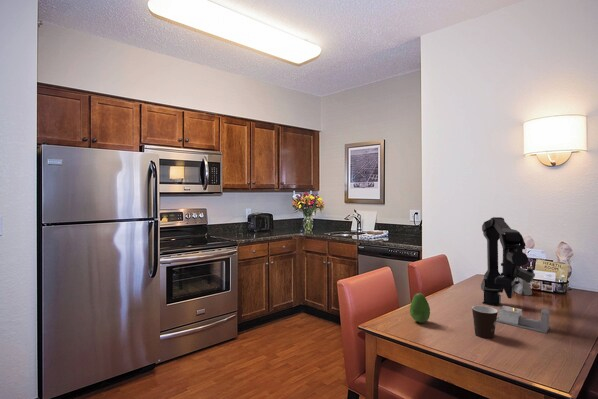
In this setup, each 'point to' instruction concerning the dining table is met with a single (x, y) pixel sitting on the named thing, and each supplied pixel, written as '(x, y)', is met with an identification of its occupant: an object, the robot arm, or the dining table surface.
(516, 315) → the lock block
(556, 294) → the dining table surface
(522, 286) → the mineral rock
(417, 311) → the fruit
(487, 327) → the coffee mug
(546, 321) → the hitch plate
